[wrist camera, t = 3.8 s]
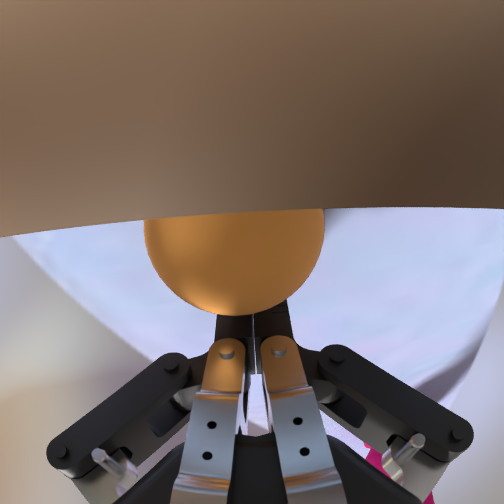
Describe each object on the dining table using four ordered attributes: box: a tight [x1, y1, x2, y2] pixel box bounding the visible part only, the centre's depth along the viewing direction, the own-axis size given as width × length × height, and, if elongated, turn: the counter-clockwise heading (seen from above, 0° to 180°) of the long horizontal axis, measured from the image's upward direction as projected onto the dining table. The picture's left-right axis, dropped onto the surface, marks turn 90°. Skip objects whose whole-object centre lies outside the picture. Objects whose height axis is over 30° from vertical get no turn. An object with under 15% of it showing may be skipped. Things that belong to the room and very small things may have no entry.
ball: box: [144, 209, 325, 316], centre depth 10 cm, size 6×6×6 cm
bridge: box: [0, 0, 504, 237], centre depth 6 cm, size 3×15×10 cm, turn 93°
